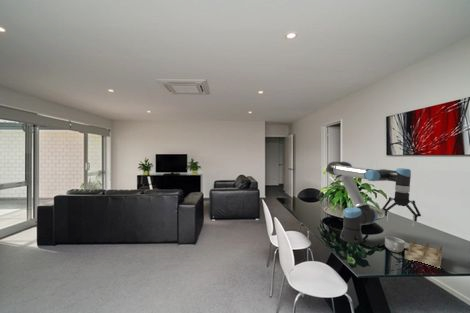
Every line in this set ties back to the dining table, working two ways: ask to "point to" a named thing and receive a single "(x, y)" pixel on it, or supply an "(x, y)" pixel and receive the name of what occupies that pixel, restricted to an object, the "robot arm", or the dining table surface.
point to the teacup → (394, 244)
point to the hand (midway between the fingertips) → (399, 223)
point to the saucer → (406, 245)
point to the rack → (424, 254)
